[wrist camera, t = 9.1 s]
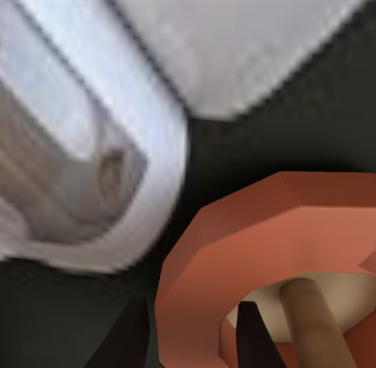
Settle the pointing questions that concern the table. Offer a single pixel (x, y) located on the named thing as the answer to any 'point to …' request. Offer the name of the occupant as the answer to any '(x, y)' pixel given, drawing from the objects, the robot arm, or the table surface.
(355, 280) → the post
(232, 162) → the table surface
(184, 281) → the ring
